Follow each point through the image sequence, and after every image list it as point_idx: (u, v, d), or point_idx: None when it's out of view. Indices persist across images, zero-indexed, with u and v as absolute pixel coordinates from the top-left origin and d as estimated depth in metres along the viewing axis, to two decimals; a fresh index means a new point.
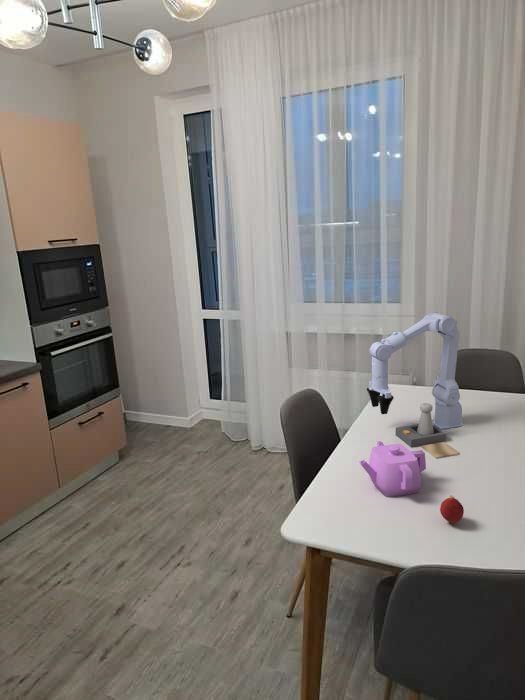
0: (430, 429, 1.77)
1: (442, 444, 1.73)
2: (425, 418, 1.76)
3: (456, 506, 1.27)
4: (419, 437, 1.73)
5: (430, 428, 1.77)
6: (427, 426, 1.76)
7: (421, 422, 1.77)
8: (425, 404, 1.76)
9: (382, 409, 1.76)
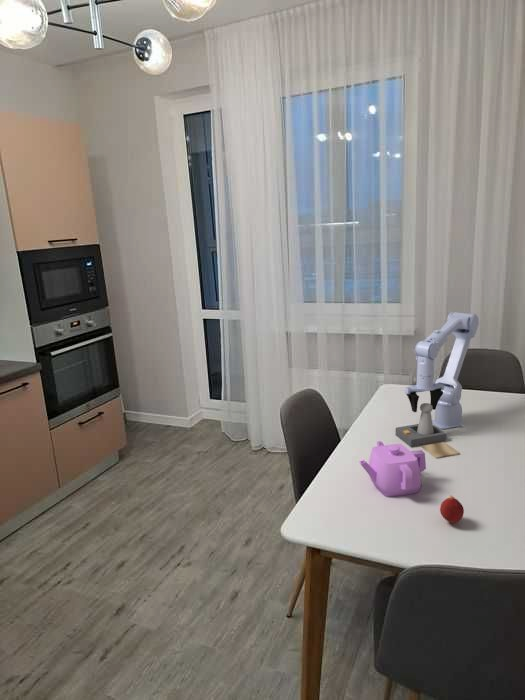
0: (430, 429, 1.77)
1: (442, 444, 1.73)
2: (425, 418, 1.76)
3: (456, 506, 1.27)
4: (419, 437, 1.73)
5: (430, 428, 1.77)
6: (427, 426, 1.76)
7: (421, 422, 1.77)
8: (425, 404, 1.76)
9: (411, 405, 1.77)
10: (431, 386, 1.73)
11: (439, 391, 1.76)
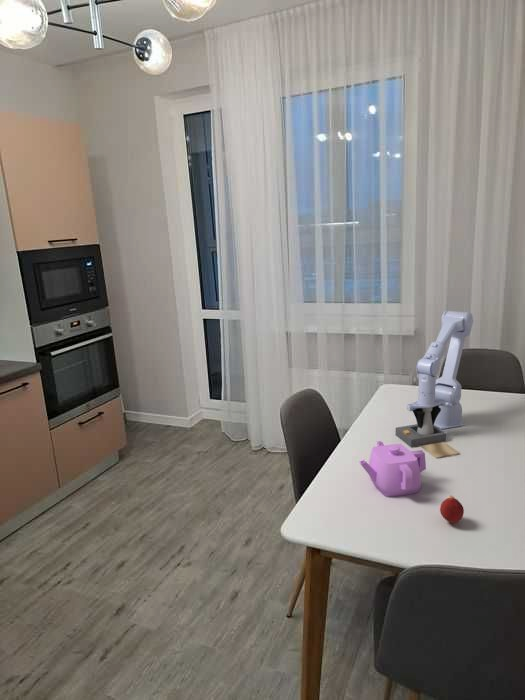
0: (430, 429, 1.76)
1: (442, 444, 1.73)
2: (425, 418, 1.76)
3: (456, 506, 1.27)
4: (419, 437, 1.73)
5: (430, 428, 1.77)
6: (427, 426, 1.76)
7: None
8: None
9: (417, 421, 1.78)
10: (433, 403, 1.74)
11: (437, 408, 1.76)
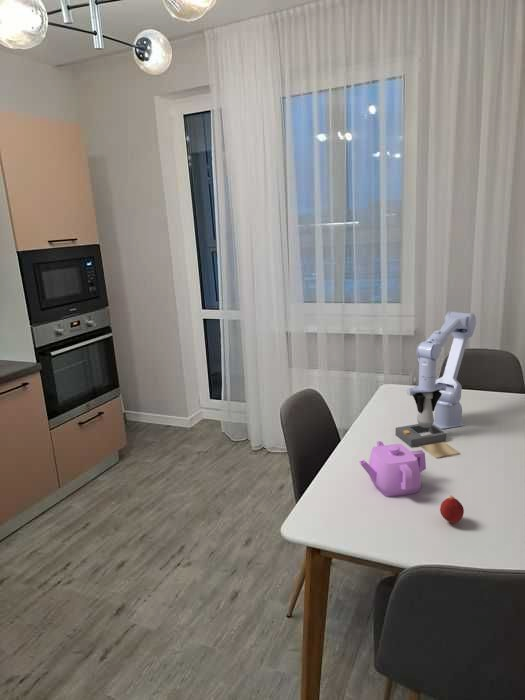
0: (430, 416, 1.75)
1: (442, 444, 1.73)
2: (425, 405, 1.75)
3: (456, 506, 1.27)
4: (419, 437, 1.73)
5: (430, 416, 1.75)
6: (427, 413, 1.75)
7: None
8: None
9: (417, 406, 1.77)
10: (433, 387, 1.72)
11: (437, 393, 1.74)
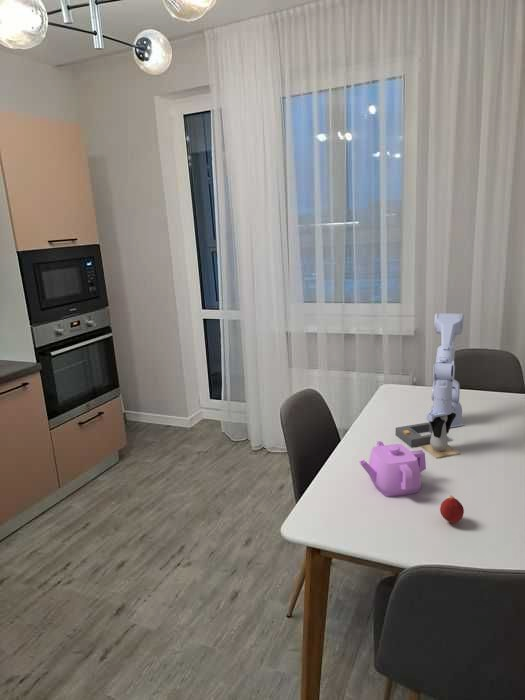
0: (446, 439, 1.67)
1: None
2: None
3: (456, 506, 1.27)
4: (419, 437, 1.73)
5: (446, 438, 1.67)
6: (444, 436, 1.66)
7: None
8: None
9: (433, 430, 1.66)
10: (450, 409, 1.64)
11: (452, 414, 1.67)
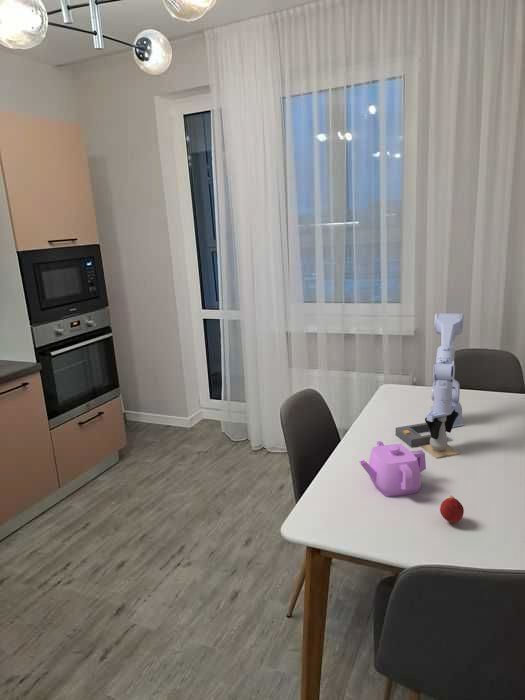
0: (446, 439, 1.67)
1: None
2: (440, 429, 1.66)
3: (456, 506, 1.27)
4: (419, 437, 1.73)
5: (446, 438, 1.67)
6: (443, 436, 1.66)
7: None
8: None
9: (431, 432, 1.66)
10: (450, 409, 1.64)
11: (454, 413, 1.67)
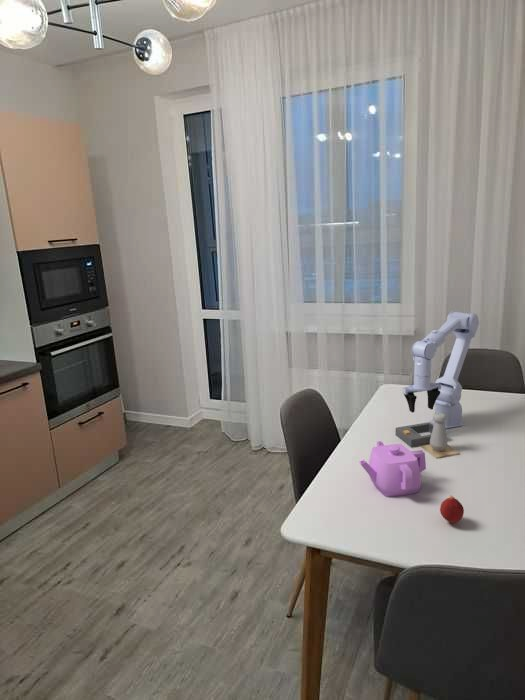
0: (446, 439, 1.67)
1: None
2: (440, 429, 1.66)
3: (456, 506, 1.27)
4: (419, 437, 1.73)
5: (446, 438, 1.67)
6: (443, 436, 1.66)
7: (437, 434, 1.66)
8: (439, 414, 1.66)
9: (409, 405, 1.78)
10: (428, 386, 1.74)
11: (436, 391, 1.76)
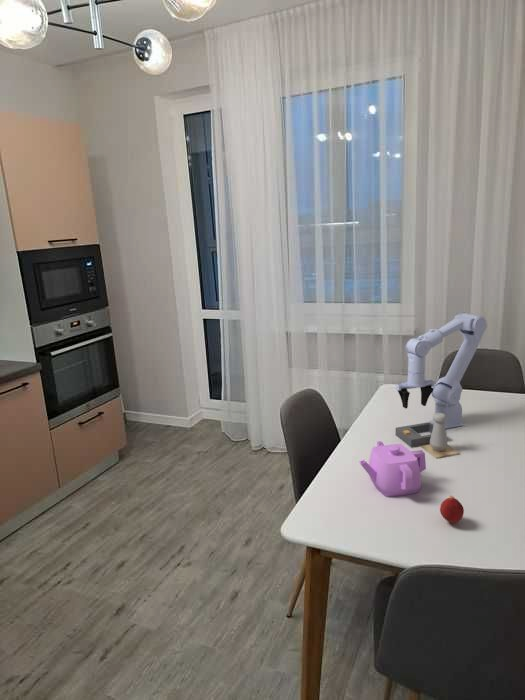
0: (446, 439, 1.67)
1: None
2: (440, 429, 1.66)
3: (456, 506, 1.27)
4: (419, 437, 1.73)
5: (446, 438, 1.67)
6: (443, 436, 1.66)
7: (437, 434, 1.66)
8: (439, 414, 1.66)
9: (402, 401, 1.81)
10: (421, 383, 1.77)
11: (429, 388, 1.80)
